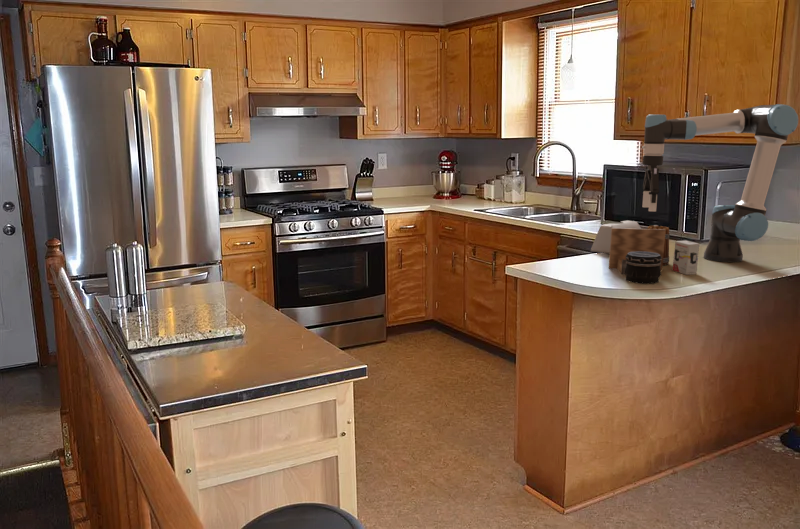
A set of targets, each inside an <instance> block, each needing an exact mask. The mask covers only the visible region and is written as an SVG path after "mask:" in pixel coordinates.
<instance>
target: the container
mask: <svg viewBox="0 0 800 529" xmlns="http://www.w3.org/2000/svg"><path fill="white" fill-rule="evenodd" d="M625 258H626V268H625V271H624V273H625V274H624V275H626V276H625V280H626V281H627V282H629V281H630V283H634V284H643V285H644V284H645V285H646V284H647V285H648V284H657V283H658V282H659V279H660V277H661V276H662V271H661V269H660V265H661V262H660V261H661V260H662V257H661V256H660V254H658V253H654V252H644V251H635V252H629V253H628V254H627V255H626V257H625Z"/></svg>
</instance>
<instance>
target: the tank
mask: <svg viewBox="0 0 800 529" xmlns="http://www.w3.org/2000/svg"><path fill="white" fill-rule="evenodd" d="M611 228H633V229H642V227H641V226H640V224H639V223H638V221H634V220H622V221H620V222H619V223H605V224H602V225H600V226H599V228H598V231H597V233H596V236H595V238H594V240H593V243H592V245H591V248H590V252H594V253H600V254H606V255H610V242H611Z"/></svg>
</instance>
